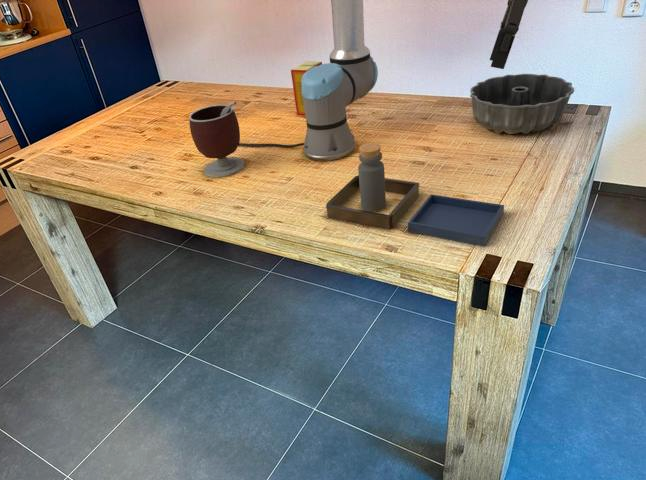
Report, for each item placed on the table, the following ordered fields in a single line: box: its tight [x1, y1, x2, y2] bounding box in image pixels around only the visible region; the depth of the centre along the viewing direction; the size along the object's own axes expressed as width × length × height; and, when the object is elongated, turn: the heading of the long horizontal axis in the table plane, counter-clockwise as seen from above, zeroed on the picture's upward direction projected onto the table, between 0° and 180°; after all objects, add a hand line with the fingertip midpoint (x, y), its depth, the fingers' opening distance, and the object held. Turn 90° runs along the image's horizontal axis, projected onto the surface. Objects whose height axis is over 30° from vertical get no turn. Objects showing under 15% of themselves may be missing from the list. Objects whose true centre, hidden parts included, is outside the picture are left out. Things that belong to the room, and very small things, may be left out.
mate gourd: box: [188, 101, 245, 178], centre depth 147 cm, size 16×14×20 cm
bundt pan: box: [469, 73, 575, 135], centre depth 143 cm, size 26×26×10 cm
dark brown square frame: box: [325, 174, 420, 230], centre depth 120 cm, size 17×17×3 cm
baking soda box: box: [290, 61, 323, 117], centre depth 177 cm, size 10×6×16 cm
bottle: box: [357, 142, 387, 213], centre depth 116 cm, size 6×6×15 cm
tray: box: [407, 193, 505, 247], centre depth 109 cm, size 16×13×2 cm
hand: (496, 64), depth 114 cm, fingers open, 13 cm apart
